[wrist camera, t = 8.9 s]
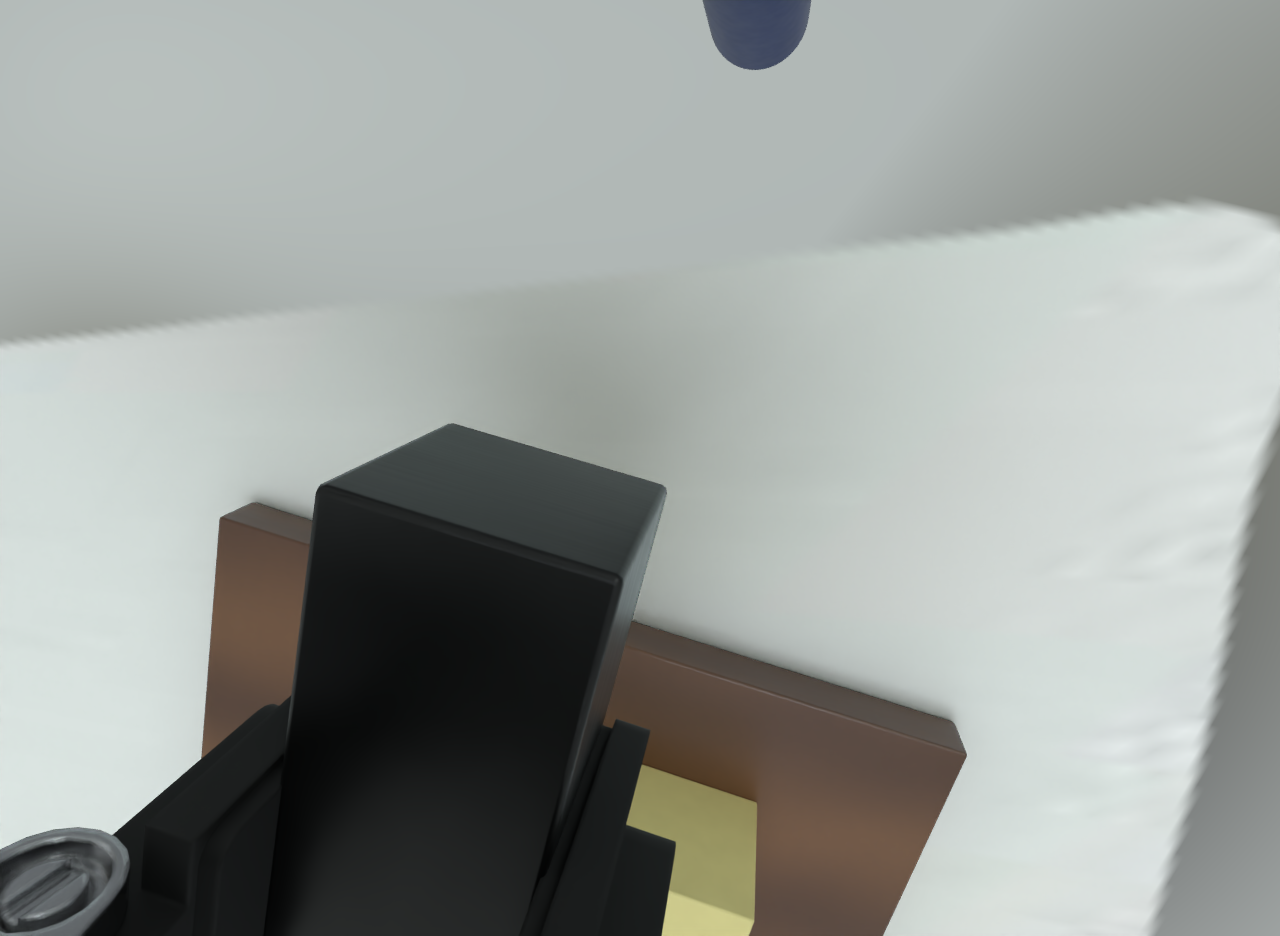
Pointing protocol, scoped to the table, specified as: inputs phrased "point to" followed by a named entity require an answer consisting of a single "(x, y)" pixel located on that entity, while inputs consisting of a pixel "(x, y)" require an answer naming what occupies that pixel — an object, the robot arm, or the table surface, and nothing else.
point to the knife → (450, 682)
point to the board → (670, 738)
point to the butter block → (701, 852)
